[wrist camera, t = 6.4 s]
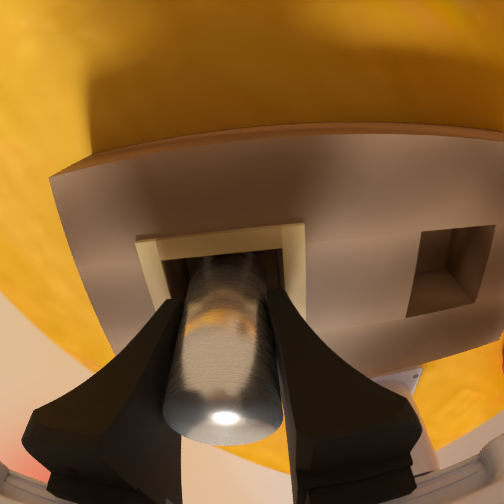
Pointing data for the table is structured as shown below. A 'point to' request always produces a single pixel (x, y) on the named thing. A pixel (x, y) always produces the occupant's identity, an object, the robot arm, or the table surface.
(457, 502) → the robot arm
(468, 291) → the bore block
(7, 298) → the table surface
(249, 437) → the pin
